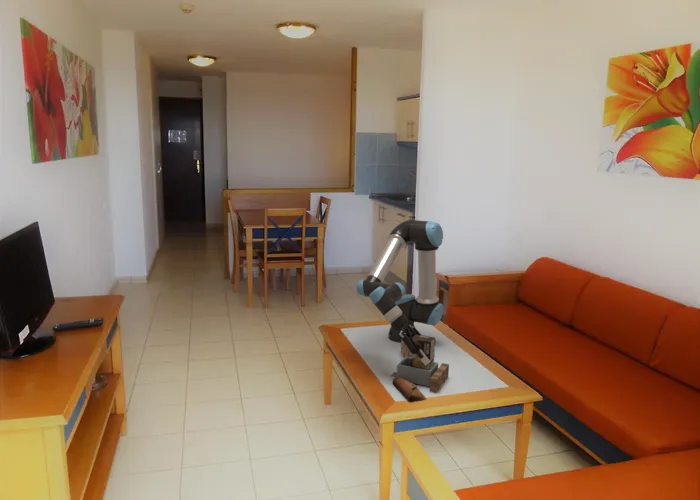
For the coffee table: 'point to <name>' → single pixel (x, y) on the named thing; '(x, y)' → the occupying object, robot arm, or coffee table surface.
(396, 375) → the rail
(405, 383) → the sunglasses case
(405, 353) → the stack of blocks
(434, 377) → the walnut backstop
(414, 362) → the coffee box
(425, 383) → the box
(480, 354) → the coffee table surface
